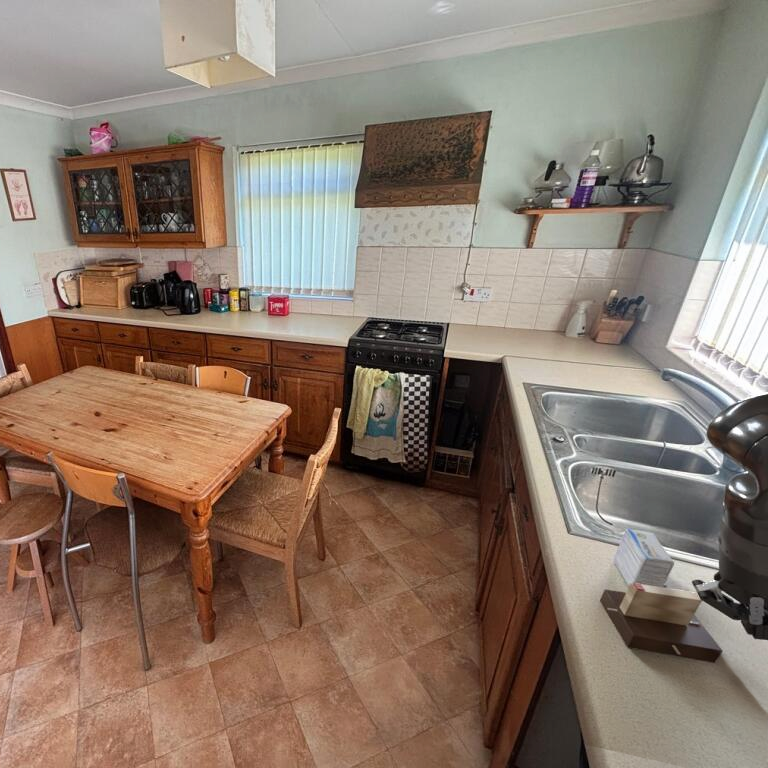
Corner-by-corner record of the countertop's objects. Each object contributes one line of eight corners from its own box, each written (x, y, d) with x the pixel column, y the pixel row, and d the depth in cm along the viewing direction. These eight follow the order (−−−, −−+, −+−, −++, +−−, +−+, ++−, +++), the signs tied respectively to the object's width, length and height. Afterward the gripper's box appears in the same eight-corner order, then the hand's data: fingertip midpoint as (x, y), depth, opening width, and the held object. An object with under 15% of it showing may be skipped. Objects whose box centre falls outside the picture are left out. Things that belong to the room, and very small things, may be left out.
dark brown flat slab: (668, 602, 76) (675, 590, 74) (725, 676, 64) (734, 663, 63) (584, 589, 79) (589, 577, 77) (623, 657, 67) (629, 645, 66)
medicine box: (658, 598, 76) (676, 563, 73) (629, 591, 78) (645, 557, 74) (638, 565, 83) (653, 532, 80) (611, 560, 85) (625, 527, 81)
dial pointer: (681, 617, 70) (695, 591, 67) (687, 625, 68) (703, 599, 66) (619, 607, 72) (631, 581, 69) (624, 615, 70) (637, 589, 68)
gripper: (704, 574, 50) (704, 654, 57) (878, 580, 44) (855, 670, 50) (677, 525, 56) (680, 603, 63) (827, 523, 49) (812, 611, 56)
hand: (758, 633), depth 57 cm, fingers closed
